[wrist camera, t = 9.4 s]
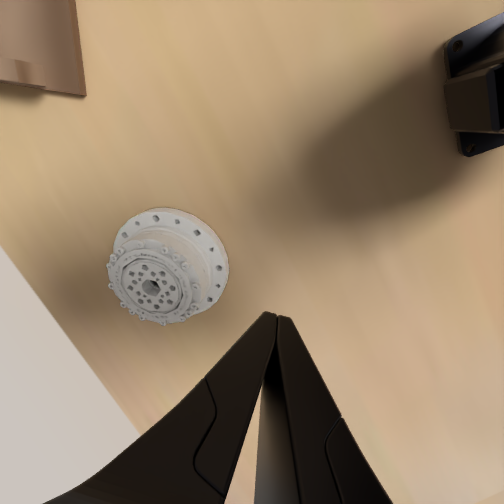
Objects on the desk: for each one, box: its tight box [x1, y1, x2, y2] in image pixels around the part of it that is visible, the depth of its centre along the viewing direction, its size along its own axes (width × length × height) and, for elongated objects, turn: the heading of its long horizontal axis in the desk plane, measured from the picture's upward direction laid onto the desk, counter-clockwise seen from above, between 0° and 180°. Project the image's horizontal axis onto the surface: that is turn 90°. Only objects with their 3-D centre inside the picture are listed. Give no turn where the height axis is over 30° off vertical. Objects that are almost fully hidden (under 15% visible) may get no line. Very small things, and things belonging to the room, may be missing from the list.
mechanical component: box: [106, 208, 229, 326], centre depth 22 cm, size 10×4×10 cm
